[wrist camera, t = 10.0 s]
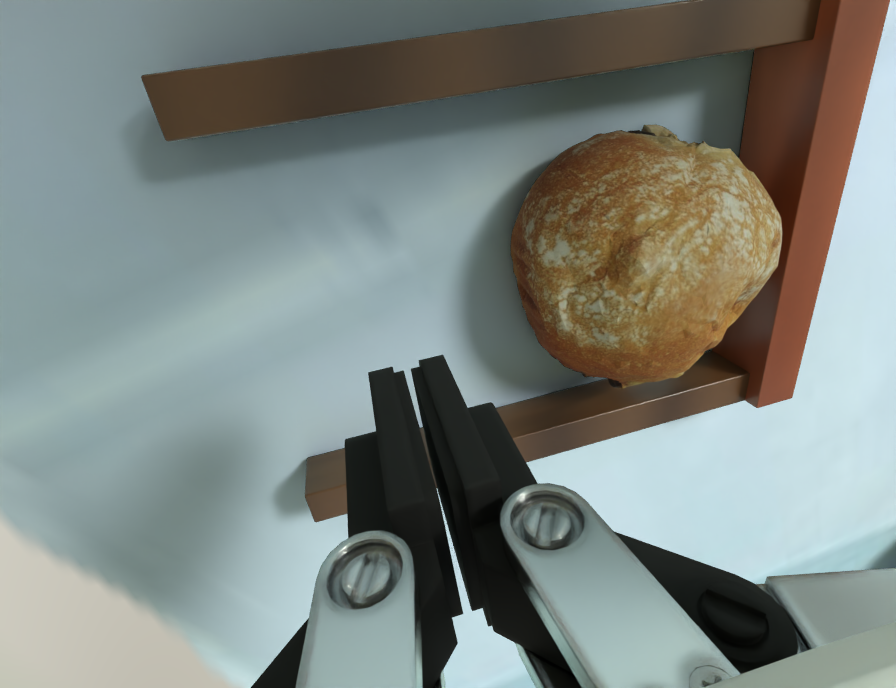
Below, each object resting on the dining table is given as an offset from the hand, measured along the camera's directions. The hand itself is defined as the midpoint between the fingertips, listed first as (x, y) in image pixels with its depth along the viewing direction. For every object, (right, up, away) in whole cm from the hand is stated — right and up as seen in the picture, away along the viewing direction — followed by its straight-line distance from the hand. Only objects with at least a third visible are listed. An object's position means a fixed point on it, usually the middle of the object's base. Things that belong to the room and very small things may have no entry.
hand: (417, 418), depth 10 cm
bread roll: (+8, +6, +10) cm, 14 cm away
